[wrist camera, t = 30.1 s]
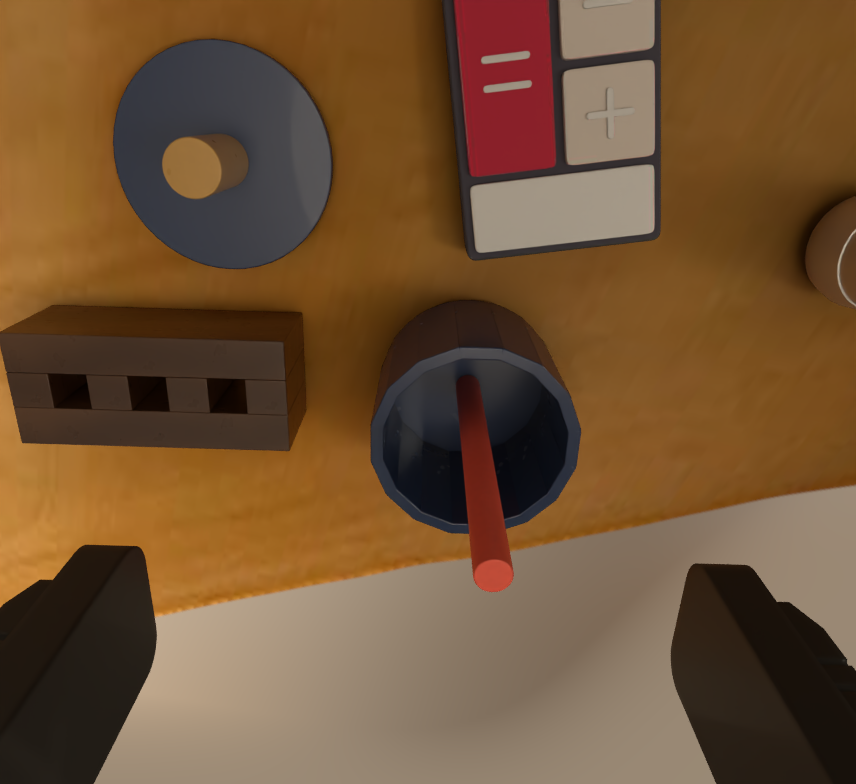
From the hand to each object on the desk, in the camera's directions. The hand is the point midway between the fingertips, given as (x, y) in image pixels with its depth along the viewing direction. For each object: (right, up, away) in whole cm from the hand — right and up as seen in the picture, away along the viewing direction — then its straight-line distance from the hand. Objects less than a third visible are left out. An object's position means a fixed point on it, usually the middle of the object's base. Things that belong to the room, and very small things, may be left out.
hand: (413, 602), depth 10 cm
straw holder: (-16, +5, +35) cm, 39 cm away
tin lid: (-12, +17, +29) cm, 36 cm away
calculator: (+7, +19, +29) cm, 36 cm away
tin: (+3, +4, +35) cm, 36 cm away
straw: (+3, +4, +35) cm, 35 cm away
